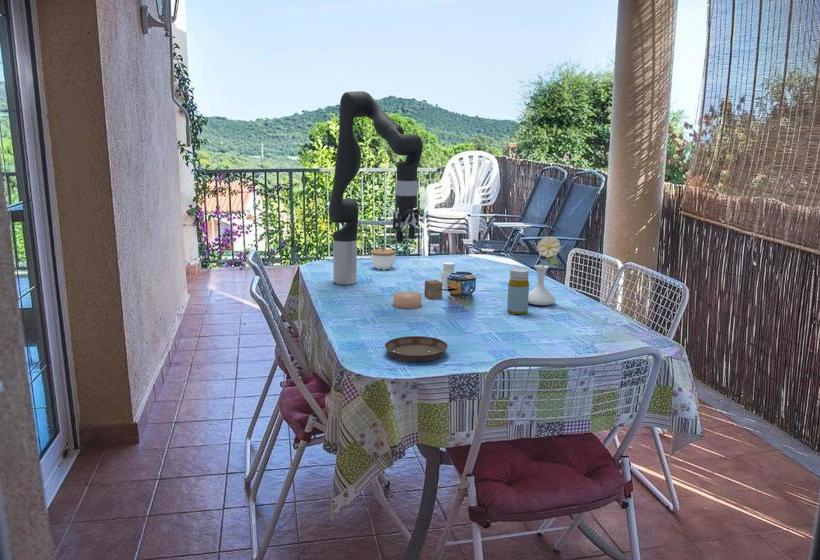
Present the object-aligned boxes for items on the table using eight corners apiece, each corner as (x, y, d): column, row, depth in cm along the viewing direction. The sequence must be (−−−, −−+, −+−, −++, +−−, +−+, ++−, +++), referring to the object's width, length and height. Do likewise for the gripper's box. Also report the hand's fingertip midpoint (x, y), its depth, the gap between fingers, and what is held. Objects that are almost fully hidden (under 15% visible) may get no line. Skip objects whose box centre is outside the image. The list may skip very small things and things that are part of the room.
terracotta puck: (389, 303, 264) (389, 292, 263) (415, 301, 267) (415, 290, 266) (398, 310, 255) (398, 298, 254) (425, 308, 258) (425, 297, 257)
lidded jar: (394, 271, 316) (395, 249, 314) (370, 270, 316) (370, 249, 314) (395, 266, 326) (396, 245, 324) (371, 265, 327) (371, 245, 325)
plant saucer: (374, 360, 203) (374, 349, 202) (398, 342, 219) (398, 332, 218) (435, 368, 197) (435, 358, 196) (455, 350, 213) (455, 339, 212)
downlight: (455, 291, 283) (456, 265, 281) (437, 290, 284) (438, 264, 282) (458, 287, 290) (459, 262, 289) (440, 286, 292) (441, 261, 290)
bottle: (515, 308, 258) (517, 267, 255) (531, 312, 254) (534, 270, 250) (502, 312, 254) (504, 269, 250) (519, 316, 249) (521, 273, 245)
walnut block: (424, 296, 274) (424, 280, 273) (436, 295, 276) (437, 279, 274) (429, 299, 269) (429, 283, 268) (441, 298, 271) (442, 282, 270)
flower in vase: (517, 303, 266) (520, 235, 260) (534, 298, 274) (538, 231, 269) (548, 310, 257) (552, 239, 252) (565, 304, 265) (570, 236, 260)
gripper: (407, 191, 261) (406, 236, 264) (386, 194, 249) (386, 242, 252) (425, 192, 257) (424, 238, 261) (406, 196, 245) (405, 244, 249)
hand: (405, 240), depth 257 cm, fingers open, 8 cm apart
